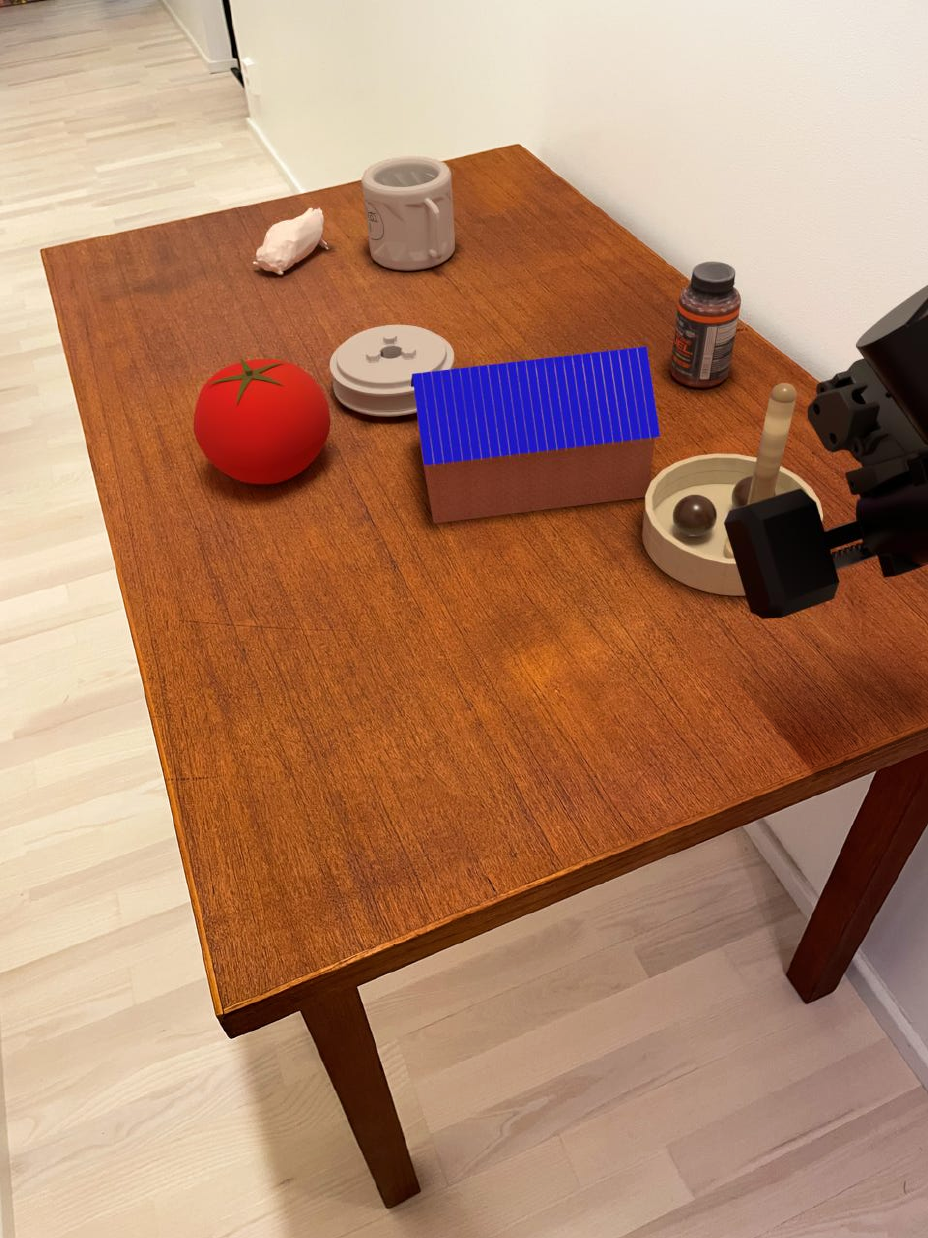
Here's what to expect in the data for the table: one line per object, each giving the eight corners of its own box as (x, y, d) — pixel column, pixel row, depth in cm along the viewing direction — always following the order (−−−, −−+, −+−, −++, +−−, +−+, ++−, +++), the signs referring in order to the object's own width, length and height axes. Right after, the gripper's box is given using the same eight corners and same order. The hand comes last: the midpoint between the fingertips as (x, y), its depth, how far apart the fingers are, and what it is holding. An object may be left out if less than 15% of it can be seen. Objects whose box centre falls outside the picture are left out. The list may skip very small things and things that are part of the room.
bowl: (849, 563, 78) (860, 530, 76) (700, 617, 75) (706, 585, 72) (748, 468, 88) (754, 436, 85) (611, 512, 84) (614, 481, 82)
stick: (765, 575, 77) (806, 406, 66) (716, 561, 78) (749, 392, 67) (779, 545, 79) (821, 377, 68) (732, 532, 81) (766, 364, 69)
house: (652, 498, 85) (666, 384, 77) (430, 526, 84) (419, 413, 76) (619, 422, 94) (628, 311, 85) (416, 446, 92) (405, 337, 84)
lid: (312, 409, 98) (303, 365, 94) (371, 347, 106) (366, 305, 102) (422, 435, 94) (418, 391, 90) (475, 369, 101) (473, 326, 98)
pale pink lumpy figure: (296, 252, 126) (246, 265, 118) (303, 199, 122) (252, 209, 114) (326, 266, 125) (278, 281, 117) (334, 213, 120) (284, 225, 113)
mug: (357, 247, 123) (346, 166, 116) (431, 226, 126) (426, 147, 119) (402, 289, 115) (394, 206, 107) (481, 266, 118) (478, 183, 110)
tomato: (187, 470, 92) (156, 374, 84) (289, 415, 97) (268, 320, 90) (256, 522, 86) (230, 423, 78) (360, 460, 91) (345, 362, 84)
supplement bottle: (657, 368, 100) (669, 264, 92) (705, 353, 101) (721, 250, 93) (690, 396, 96) (705, 290, 88) (740, 380, 98) (759, 275, 90)
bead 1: (730, 526, 80) (716, 485, 80) (707, 534, 77) (693, 492, 77) (695, 539, 82) (682, 499, 82) (672, 546, 80) (658, 505, 80)
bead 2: (785, 506, 79) (768, 466, 79) (743, 524, 80) (726, 484, 80) (779, 509, 82) (762, 470, 83) (739, 526, 83) (722, 488, 83)
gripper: (1096, 290, 48) (887, 376, 63) (779, 383, 43) (636, 451, 58) (1156, 504, 48) (934, 538, 63) (849, 617, 44) (690, 624, 59)
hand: (803, 533), depth 61 cm, fingers open, 9 cm apart
